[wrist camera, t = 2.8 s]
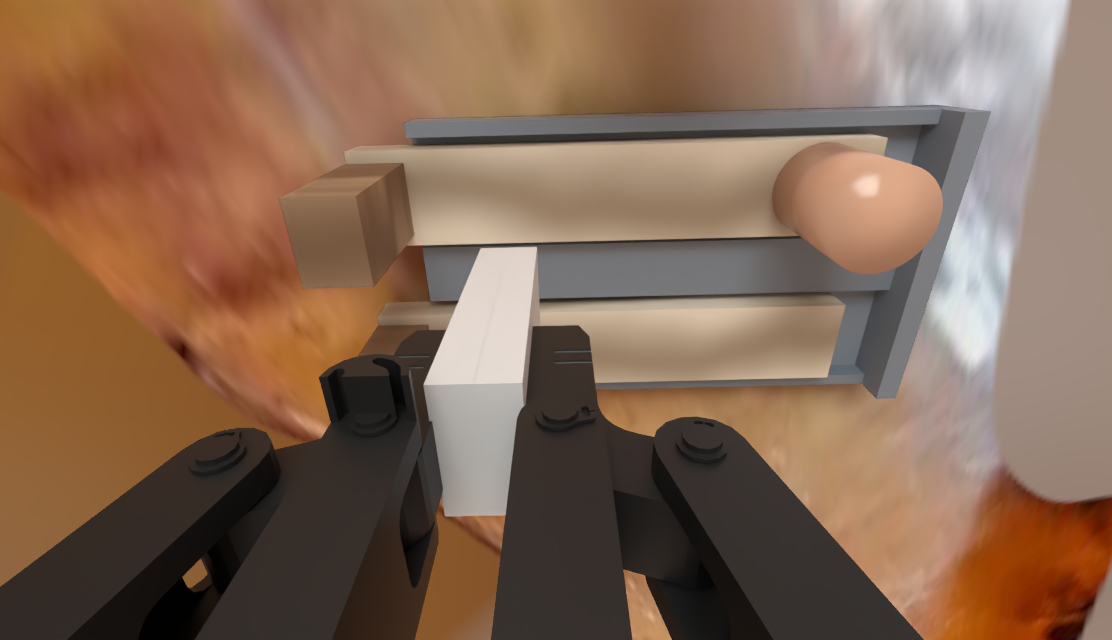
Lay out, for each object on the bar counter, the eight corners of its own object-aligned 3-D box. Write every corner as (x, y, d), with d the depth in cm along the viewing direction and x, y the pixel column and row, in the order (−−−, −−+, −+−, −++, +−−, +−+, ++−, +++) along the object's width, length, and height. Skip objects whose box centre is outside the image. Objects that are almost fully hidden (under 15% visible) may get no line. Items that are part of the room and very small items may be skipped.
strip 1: (356, 146, 23) (274, 182, 16) (866, 132, 23) (997, 163, 16) (373, 235, 25) (306, 301, 18) (844, 223, 25) (955, 285, 18)
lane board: (413, 119, 24) (394, 127, 21) (937, 105, 24) (990, 111, 21) (449, 375, 30) (439, 408, 27) (862, 365, 30) (895, 398, 27)
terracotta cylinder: (780, 143, 22) (839, 164, 17) (875, 140, 22) (958, 161, 17) (765, 234, 24) (814, 275, 19) (853, 232, 24) (923, 273, 19)
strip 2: (386, 302, 27) (328, 385, 20) (828, 291, 27) (924, 371, 20) (399, 370, 29) (350, 468, 22) (812, 360, 29) (894, 455, 22)
